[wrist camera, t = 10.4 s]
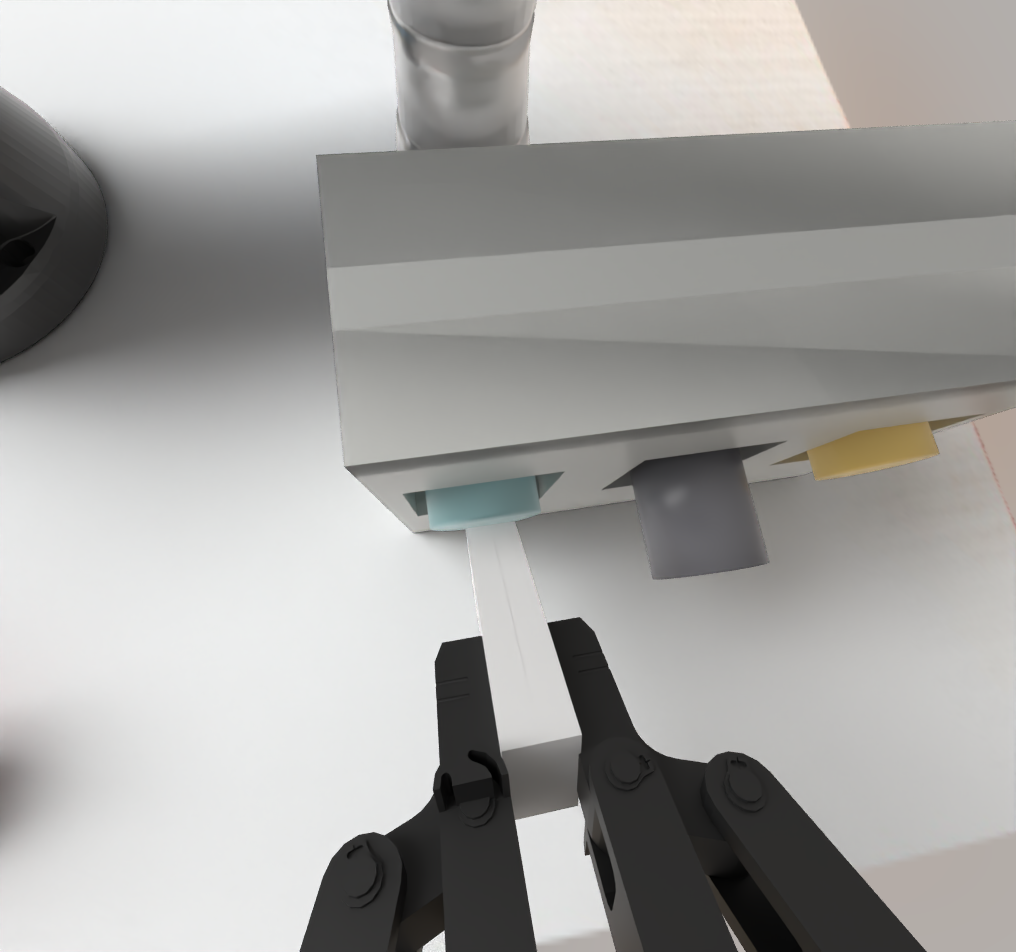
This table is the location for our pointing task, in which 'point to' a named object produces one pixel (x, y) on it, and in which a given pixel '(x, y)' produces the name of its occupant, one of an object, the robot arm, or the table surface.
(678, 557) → the charcoal button
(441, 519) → the teal button
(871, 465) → the amber button
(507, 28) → the plastic bottle
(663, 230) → the console
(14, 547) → the table surface
